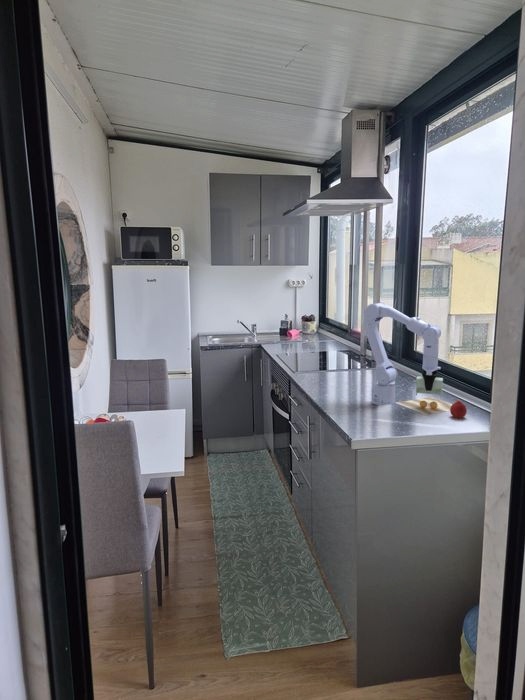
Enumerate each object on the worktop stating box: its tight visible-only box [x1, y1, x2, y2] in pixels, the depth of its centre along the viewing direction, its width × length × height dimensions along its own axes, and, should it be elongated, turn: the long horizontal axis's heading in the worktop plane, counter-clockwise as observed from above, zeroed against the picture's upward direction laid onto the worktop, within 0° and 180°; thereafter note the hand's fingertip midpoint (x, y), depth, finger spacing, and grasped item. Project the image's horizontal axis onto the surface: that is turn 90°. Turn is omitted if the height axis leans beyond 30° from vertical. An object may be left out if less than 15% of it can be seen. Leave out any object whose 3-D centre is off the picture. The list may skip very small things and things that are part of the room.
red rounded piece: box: [449, 399, 467, 419], centre depth 175 cm, size 6×6×8 cm
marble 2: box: [430, 401, 437, 409], centre depth 187 cm, size 3×3×3 cm
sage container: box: [415, 375, 444, 399], centre depth 186 cm, size 10×6×7 cm, turn 67°
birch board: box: [395, 396, 453, 416], centre depth 192 cm, size 20×19×1 cm
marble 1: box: [420, 401, 427, 408], centre depth 188 cm, size 3×3×3 cm
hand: (429, 388), depth 186 cm, fingers closed on sage container, 6 cm apart
